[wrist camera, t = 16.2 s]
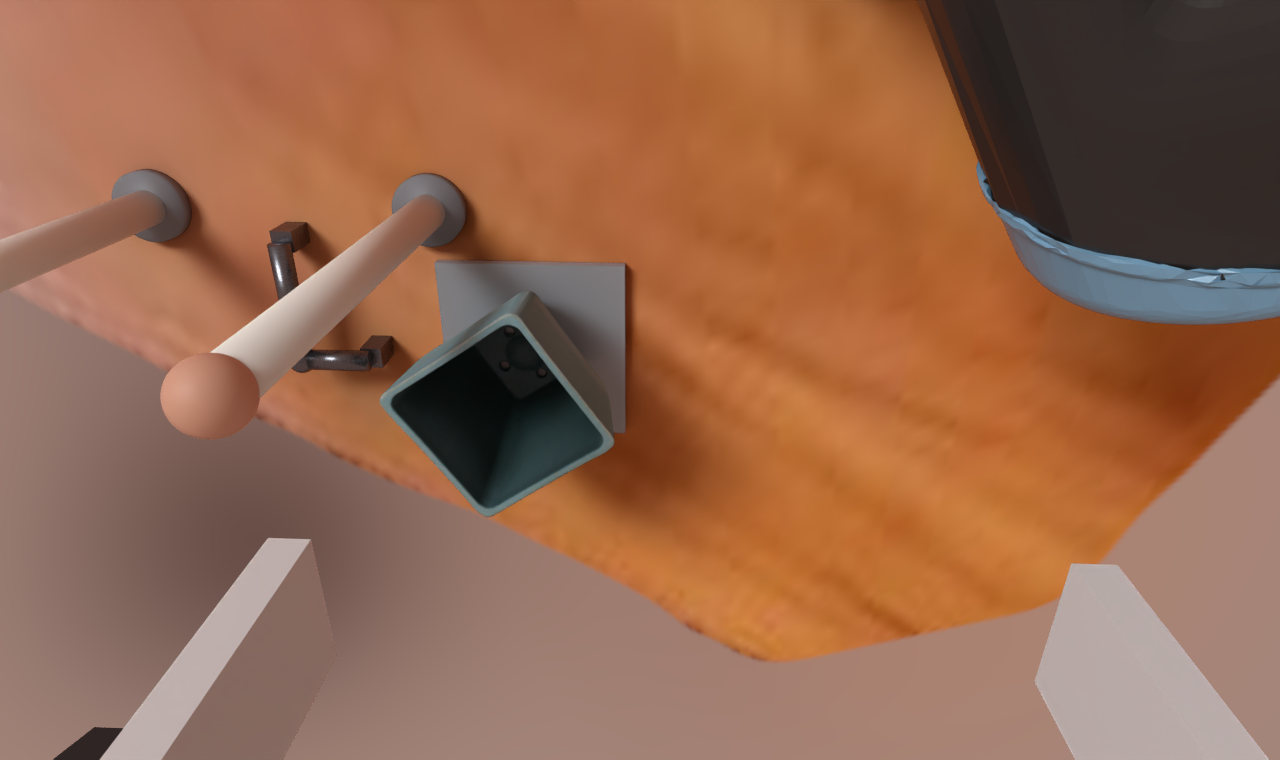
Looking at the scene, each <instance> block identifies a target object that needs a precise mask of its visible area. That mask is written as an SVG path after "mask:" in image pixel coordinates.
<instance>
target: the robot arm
mask: <svg viewBox="0 0 1280 760" xmlns="http://www.w3.org/2000/svg"><path fill="white" fill-rule="evenodd" d="M917 1H918V3H919V6H920V9H921V11H922V14H923V16H924V19H925V22H926V24H927V27H928V30H929V32H930V35H931V37H932V40H933V43H934V45H935V48H936V51H937V53H938V56H939V58H940V61H941V64H942V66H943V69H944V72H945V74H946V77H947V79H948V82H949V85H950V87H951V90H952V93H953V95H954V98H955V100H956V103H957V106H958V108H959V111H960V114H961V116H962V119H963V121H964V124H965V127H966V129H967V132H968V135H969V137H970V140H971V142H972V145H973V148H974V150H975V153H976V156H977V158H978V164H977V176H978V179H979V183H980V187H981V189H982V192H983V194H984V196H985V198H986V200H987V201H988V203H989V204H991V205H992V207H993V209H994V210H995V212H996V214H997V215H998V216H999V217H1000V218H1001V219H1002V221H1003V224H1004V226H1005V228H1006V231H1007V233H1008V235H1009V237H1010V240H1011V242H1012V244H1013V247H1014V249H1015V251H1016V253H1017V255H1018V257H1019V259H1020V261H1021V262H1022V264H1023V265H1024V266H1025V268H1026V269H1027V270H1028V271H1029V272H1030V273H1031V274H1032V275H1033V276H1034V277H1035V278H1036V279H1037V280H1038V281H1039V282H1040V283H1041V284H1042V285H1043V286H1044V287H1046V288H1047V289H1048V290H1049V291H1051V292H1052V293H1054V294H1056V295H1057V296H1059V297H1061V298H1063V299H1065V300H1067V301H1069V302H1071V303H1073V304H1075V305H1078V306H1080V307H1083V308H1085V309H1088V310H1091V311H1094V312H1097V313H1101V314H1105V315H1109V316H1113V317H1118V318H1122V319H1129V320H1137V321H1143V322H1151V323H1163V324H1179V325H1208V324H1229V323H1239V322H1248V321H1256V320H1264V319H1270V318H1275V317H1280V0H917ZM336 657H337V654H336V649H335V645H334V640H333V636H332V631H331V627H330V623H329V618H328V614H327V609H326V605H325V600H324V596H323V592H322V587H321V582H320V578H319V573H318V569H317V565H316V560H315V556H314V552H313V547H312V543H311V540H310V539H280V538H279V539H278V538H268V539H267V540H266V542H265V543H264V544H263V546H262V547H261V548H260V550H259V551H258V552H257V554H256V555H255V556H254V557H253V559H252V560H251V561H250V563H249V564H248V565H247V567H246V568H245V569H244V571H243V572H242V573H241V575H240V576H239V577H238V578H237V580H236V581H235V582H234V584H233V585H232V586H231V588H230V589H229V590H228V592H227V593H226V594H225V596H224V597H223V598H222V599H221V601H220V602H219V603H218V605H217V606H216V607H215V609H214V610H213V611H212V613H211V614H210V615H209V617H208V618H207V619H206V621H205V622H204V623H203V625H202V626H201V627H200V628H199V630H198V631H197V632H196V634H195V635H194V636H193V638H192V639H191V640H190V642H189V643H188V644H187V646H186V647H185V648H184V649H183V651H182V652H181V653H180V655H179V656H178V657H177V659H176V660H175V661H174V663H173V664H172V665H171V667H170V668H169V669H168V671H167V672H166V673H165V675H164V676H163V677H162V679H161V680H160V681H159V682H158V684H157V685H156V686H155V688H154V689H153V690H152V692H151V693H150V694H149V696H148V697H147V698H146V700H145V701H144V702H143V703H142V705H141V706H140V707H139V709H138V710H137V711H136V713H135V714H134V715H133V717H132V718H131V719H130V721H129V722H128V723H127V724H126V726H125V727H124V728H100V727H99V728H98V727H94V728H93V729H92V730H90V731H89V732H88V733H86V734H85V735H84V736H83V737H81V738H80V739H79V740H78V741H76V742H75V743H74V744H72V745H71V746H70V747H68V748H67V749H66V750H65V751H63V752H62V753H61V754H59V755H58V756H57V757H56V758H54V760H283V759H284V757H285V755H286V753H287V751H288V749H289V747H290V745H291V743H292V741H293V739H294V738H295V736H296V734H297V732H298V730H299V728H300V726H301V724H302V722H303V720H304V718H305V716H306V714H307V712H308V711H309V708H310V707H311V705H312V703H313V701H314V699H315V697H316V695H317V693H318V691H319V689H320V687H321V686H322V684H323V681H324V680H325V678H326V676H327V674H328V672H329V670H330V668H331V666H332V664H333V662H334V661H335V658H336ZM1035 683H1036V686H1037V687H1038V689H1039V691H1040V693H1041V695H1042V697H1043V699H1044V701H1045V703H1046V705H1047V706H1048V708H1049V710H1050V712H1051V714H1052V716H1053V718H1054V719H1055V722H1056V724H1057V726H1058V728H1059V730H1060V732H1061V733H1062V735H1063V737H1064V739H1065V741H1066V743H1067V745H1068V746H1069V749H1070V751H1071V753H1072V755H1073V756H1074V758H1075V760H1269V759H1268V758H1267V757H1266V755H1265V754H1264V753H1263V751H1262V750H1261V749H1260V748H1259V746H1258V745H1257V744H1256V742H1255V741H1254V740H1253V739H1252V737H1251V736H1250V735H1249V733H1248V732H1247V731H1246V730H1245V728H1244V727H1243V726H1242V724H1241V723H1240V722H1239V721H1238V719H1237V718H1236V717H1235V716H1234V714H1233V713H1232V712H1231V710H1230V709H1229V708H1228V706H1227V705H1226V704H1225V703H1224V701H1223V700H1222V699H1221V698H1220V696H1219V695H1218V694H1217V692H1216V691H1215V690H1214V688H1213V687H1212V686H1211V684H1210V683H1209V682H1208V681H1207V679H1206V678H1205V677H1204V675H1203V674H1202V673H1201V672H1200V670H1199V669H1198V668H1197V667H1196V665H1195V664H1194V663H1193V661H1192V660H1191V659H1190V658H1189V656H1188V655H1187V654H1186V652H1185V651H1184V650H1183V648H1182V647H1181V646H1180V645H1179V643H1178V642H1177V641H1176V639H1175V638H1174V637H1173V636H1172V635H1171V633H1170V632H1169V631H1168V629H1167V628H1166V627H1165V625H1164V624H1163V623H1162V622H1161V620H1160V619H1159V618H1158V616H1157V615H1156V614H1155V613H1154V611H1153V610H1152V609H1151V607H1150V606H1149V605H1148V604H1147V602H1146V601H1145V600H1144V598H1143V597H1142V596H1141V594H1140V593H1139V592H1138V591H1137V589H1136V588H1135V587H1134V585H1133V584H1132V583H1131V582H1130V580H1129V579H1128V578H1127V576H1126V575H1125V574H1124V573H1123V571H1122V570H1121V569H1120V567H1119V566H1118V565H1101V564H1071V567H1070V570H1069V573H1068V576H1067V580H1066V583H1065V586H1064V589H1063V592H1062V595H1061V599H1060V602H1059V605H1058V608H1057V611H1056V615H1055V618H1054V621H1053V624H1052V628H1051V631H1050V634H1049V637H1048V640H1047V643H1046V647H1045V650H1044V653H1043V656H1042V659H1041V662H1040V666H1039V669H1038V672H1037V675H1036V678H1035Z"/></svg>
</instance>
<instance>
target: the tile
mask: <svg viewBox="0 0 1280 760" xmlns="http://www.w3.org/2000/svg"><path fill="white" fill-rule="evenodd" d="M435 272H436V280H437V289H438V297H439V306H440V315H441V323H442V332H443V341H444V342H446V341H447V340H449V339H450V338H452V337H454V336H455V335H457V334H458V333H460V332H461V331H463V330H464V329H466V328H467V327H469V326H470V325H472V324H473V323H475V322H476V321H478V320H480V319H481V318H483V317H484V316H486V315H487V314H489V313H490V312H492V311H493V310H495V309H496V308H498V307H499V306H501V305H502V304H504V303H505V302H507V301H508V300H510V299H511V298H513V297H514V296H516V295H517V294H519V293H521V292H523V291H526V290H527V291H532V292H534V293H535V294H536V295H537V296H538V297H539V298H540V299H541V301H542V302H543V304H544V305H545V306H546V308H547V309H548V310H549V312H550V313H551V314H552V316H553V317H554V318H555V320H556V321H557V322H558V324H559V325H560V326H561V327H562V329H563V330H564V331H565V333H566V334H567V335H568V337H569V338H570V339H571V341H572V342H573V343H574V345H575V346H576V347H577V348H578V350H579V351H580V352H581V354H582V355H583V356H584V358H585V359H586V360H587V361H588V363H589V364H590V365H591V367H592V368H593V369H594V370H595V372H596V373H597V374H598V376H599V377H600V379H601V380H602V382H603V384H604V386H605V388H606V390H607V393H608V396H609V400H610V406H611V415H612V424H613V432H614V433H626V288H625V263H588V262H532V261H477V260H437V261H436V262H435ZM505 333H506V334H507V335H512V334H513V333H514V330H513V329H512V328H510V327H507V328H506V329H505ZM501 367H502V368H504V369H507V368H509V363H508V362H505V361H503V362H502V363H501ZM538 374H539V375H540V376H544V375H545V374H546V371H545V370H544V369H539V370H538Z"/></svg>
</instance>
